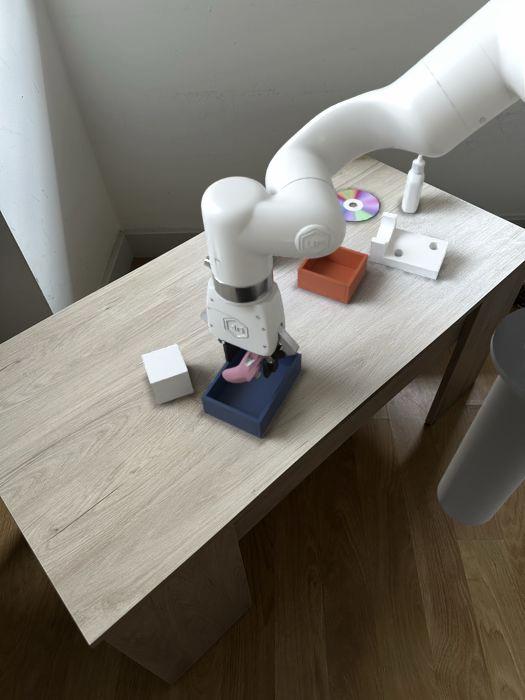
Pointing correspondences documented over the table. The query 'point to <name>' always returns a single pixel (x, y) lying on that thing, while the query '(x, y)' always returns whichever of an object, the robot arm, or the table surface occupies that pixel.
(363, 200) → the cd
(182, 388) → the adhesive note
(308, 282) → the terracotta bin
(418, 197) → the eye dropper bottle
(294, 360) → the navy bin
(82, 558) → the table surface
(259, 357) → the video game controller
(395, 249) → the bracket
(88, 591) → the table surface
